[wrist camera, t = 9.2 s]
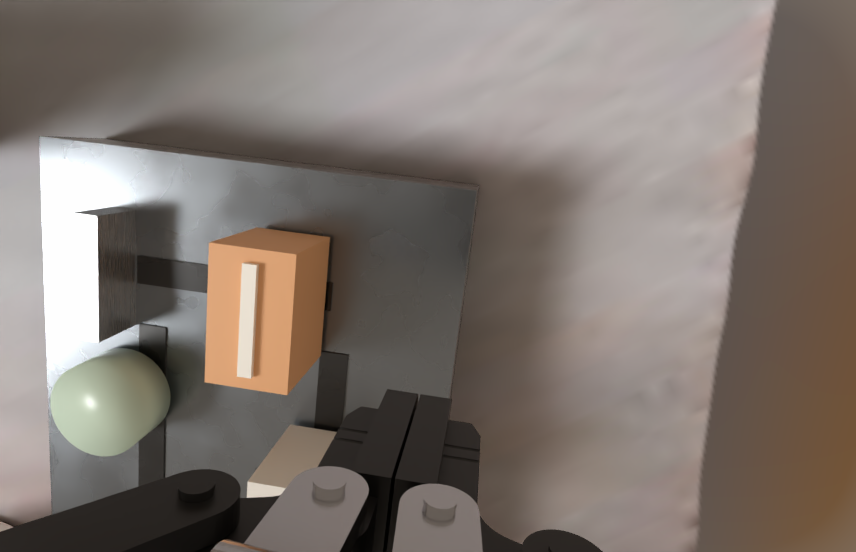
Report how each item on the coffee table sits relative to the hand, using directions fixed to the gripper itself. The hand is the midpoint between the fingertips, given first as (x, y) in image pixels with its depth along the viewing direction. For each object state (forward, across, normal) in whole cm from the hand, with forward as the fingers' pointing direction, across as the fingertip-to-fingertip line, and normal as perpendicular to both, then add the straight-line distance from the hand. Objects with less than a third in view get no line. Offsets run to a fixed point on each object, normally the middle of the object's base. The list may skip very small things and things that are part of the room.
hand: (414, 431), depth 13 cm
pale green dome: (+10, +14, +6) cm, 18 cm away
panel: (+14, +8, +8) cm, 18 cm away
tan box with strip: (+10, +6, 0) cm, 12 cm away
